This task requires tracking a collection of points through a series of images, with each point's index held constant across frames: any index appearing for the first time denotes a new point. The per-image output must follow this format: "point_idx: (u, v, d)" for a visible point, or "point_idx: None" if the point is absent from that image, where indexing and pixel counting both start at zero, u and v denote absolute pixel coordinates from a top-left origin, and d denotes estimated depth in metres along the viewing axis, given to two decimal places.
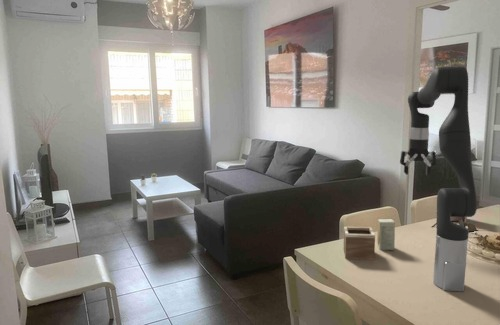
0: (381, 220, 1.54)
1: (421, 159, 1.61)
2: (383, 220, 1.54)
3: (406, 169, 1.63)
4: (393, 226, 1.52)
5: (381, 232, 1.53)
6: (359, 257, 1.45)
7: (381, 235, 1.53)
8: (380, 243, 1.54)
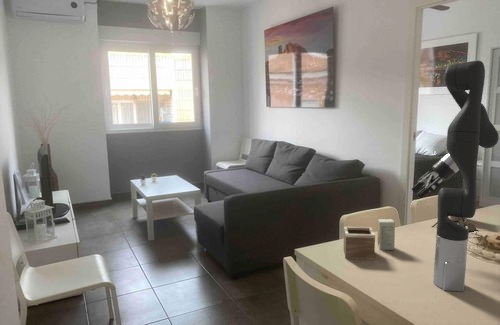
0: (381, 220, 1.54)
1: None
2: (383, 220, 1.54)
3: None
4: (393, 226, 1.52)
5: (381, 232, 1.53)
6: (359, 257, 1.45)
7: (381, 235, 1.53)
8: (380, 243, 1.54)
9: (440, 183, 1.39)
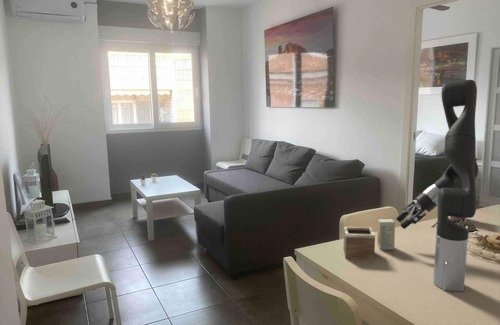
0: (381, 220, 1.54)
1: None
2: (383, 220, 1.54)
3: (400, 215, 1.57)
4: (393, 226, 1.52)
5: (381, 232, 1.53)
6: (359, 257, 1.45)
7: (381, 235, 1.53)
8: (380, 243, 1.54)
9: (422, 216, 1.45)
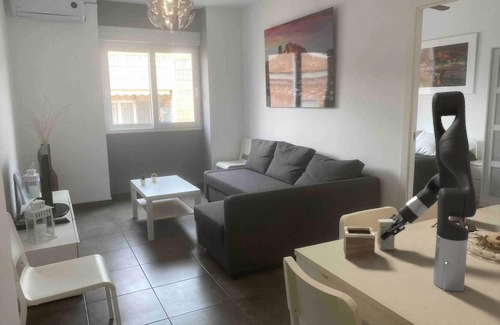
0: (381, 220, 1.54)
1: None
2: (383, 220, 1.54)
3: None
4: None
5: (381, 232, 1.53)
6: (359, 257, 1.45)
7: None
8: (380, 243, 1.54)
9: (401, 229, 1.47)
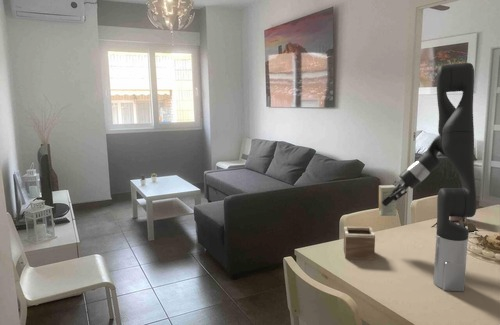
0: (382, 186, 1.52)
1: None
2: (384, 186, 1.52)
3: None
4: None
5: (382, 198, 1.50)
6: (359, 257, 1.45)
7: None
8: (381, 209, 1.51)
9: (402, 193, 1.45)
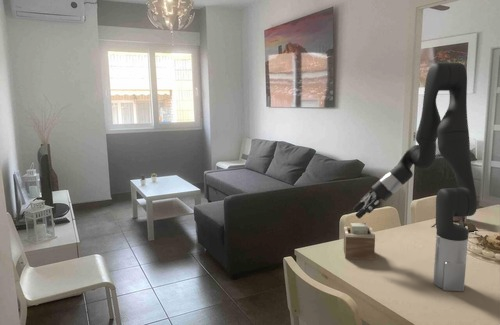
0: (354, 224, 1.47)
1: None
2: (356, 224, 1.47)
3: None
4: (365, 230, 1.45)
5: None
6: (359, 257, 1.45)
7: None
8: None
9: (376, 204, 1.39)
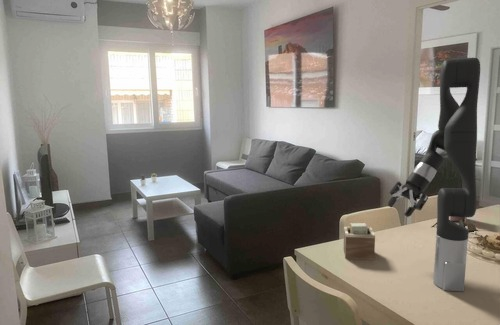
0: (353, 224, 1.47)
1: (408, 196, 1.41)
2: (355, 224, 1.47)
3: (391, 200, 1.47)
4: (365, 230, 1.45)
5: None
6: (359, 257, 1.45)
7: None
8: None
9: (425, 200, 1.37)
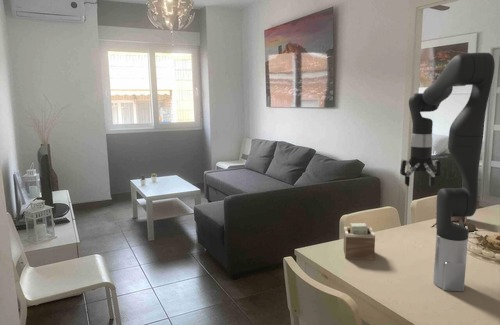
0: (353, 224, 1.47)
1: (424, 169, 1.43)
2: (355, 224, 1.47)
3: (407, 180, 1.45)
4: (365, 230, 1.45)
5: None
6: (359, 257, 1.45)
7: None
8: None
9: None
